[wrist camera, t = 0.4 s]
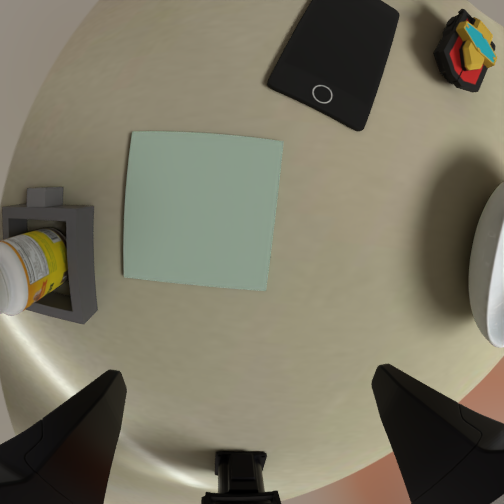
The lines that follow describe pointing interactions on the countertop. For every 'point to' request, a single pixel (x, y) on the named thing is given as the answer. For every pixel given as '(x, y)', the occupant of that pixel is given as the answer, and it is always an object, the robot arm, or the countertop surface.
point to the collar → (78, 250)
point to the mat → (201, 208)
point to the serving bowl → (489, 270)
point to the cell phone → (337, 58)
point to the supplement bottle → (31, 268)
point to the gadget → (465, 52)
